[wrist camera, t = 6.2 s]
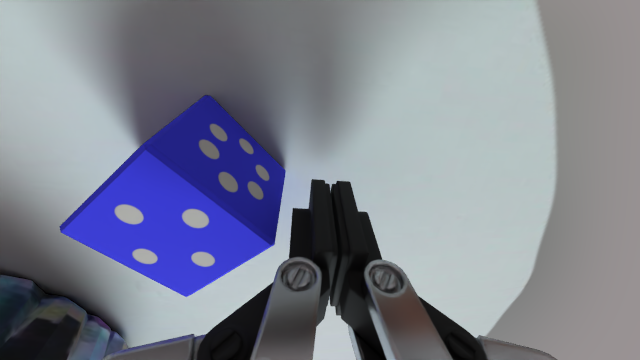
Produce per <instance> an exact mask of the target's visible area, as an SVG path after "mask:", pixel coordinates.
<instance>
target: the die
mask: <svg viewBox="0 0 640 360" xmlns="http://www.w3.org/2000/svg"><path fill="white" fill-rule="evenodd" d="M284 178H285V170H284V169H283V168H282V167H281V166H280V165H279V164H278V163H277V162H276V161H275V160H274V159H273V158H272V157H271V156H270V155H269V154H268V153H267V152H266V151H265V150H264V149H263V148H262V147H261V146H260V145H259V144H258V143H257V142H256V141H255V140H254V139H253V138H252V137H251V136H250V135H249V134H248V133H247V132H246V131H245V130H244V129H243V128H242V127H241V126H240V125H239V124H238V123H237V122H236V121H235V120H234V119H233V118H232V117H231V116H230V115H229V114H228V113H227V112H226V111H225V110H224V109H223V108H222V107H221V106H220V105H219V104H218V103H217V102H216V101H215V100H214V99H213V98H212V97H211V96H208V95H205V96H203V97H202V98H201V99H200V100H198V101H197V102H196V103H195V104H193V105H192V106H191V107H189V108H188V109H187V110H186V111H184V112H183V113H182V114H181V115H179V116H178V117H177V118H175V119H174V120H173V121H172V122H170V123H169V124H168V125H166V126H165V127H164V128H163V129H161V130H160V131H159V132H158V133H156V134H155V135H154V136H152V137H151V138H150V139H149V140H147V141H146V142H145V143H144V144H142V145H141V146H140V147H139V148H138V149H137V150H136V151H135V152H134V153H133V154H132V155H131V156H130V157H129V158H128V159H127V160H126V161H125V162H124V163H123V164H122V165H121V166H120V167H119V168H118V169H117V170H116V171H115V172H114V173H113V174H112V175H111V176H110V177H109V178H108V179H107V180H106V181H105V182H104V183H103V184H102V185H101V186H100V187H99V188H98V189H97V190H96V191H95V192H94V193H93V194H92V195H91V196H90V197H89V198H88V199H87V200H86V201H85V202H84V203H83V204H82V205H81V206H80V207H79V208H78V209H77V210H76V211H75V212H74V213H73V214H72V215H71V216H70V217H69V218H68V219H67V220H66V221H65V222H64V223H63V224H62V225H61V226H60V231H61V233H63V234H65V235H67V236H69V237H71V238H73V239H75V240H77V241H79V242H81V243H82V244H84V245H86V246H88V247H90V248H92V249H94V250H96V251H98V252H100V253H102V254H104V255H106V256H108V257H110V258H112V259H114V260H115V261H117V262H119V263H121V264H123V265H125V266H127V267H129V268H131V269H133V270H135V271H137V272H139V273H141V274H143V275H145V276H147V277H148V278H150V279H152V280H154V281H156V282H158V283H160V284H162V285H164V286H166V287H168V288H170V289H172V290H174V291H176V292H178V293H180V294H181V295H183V296H185V297H187V296H189V295H191V294H193V293H195V292H196V291H198V290H200V289H201V288H203V287H205V286H206V285H208V284H210V283H211V282H213V281H215V280H216V279H218V278H220V277H221V276H223V275H225V274H226V273H228V272H230V271H231V270H233V269H235V268H236V267H238V266H240V265H241V264H243V263H245V262H246V261H248V260H250V259H251V258H253V257H255V256H256V255H258V254H260V253H261V252H263V251H265V250H266V249H268V248H270V247H271V246H273V245H274V244H275V238H276V231H277V224H278V218H279V211H280V205H281V198H282V191H283V185H284Z"/></svg>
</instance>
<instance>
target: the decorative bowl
mask: <svg viewBox="0 0 640 360" xmlns="http://www.w3.org/2000/svg"><path fill="white" fill-rule="evenodd" d="M127 347H128V346H127V344H126V342H125V340H124V339H123V338H122V337H121V336H120V335H119V334H118V333H117V332H115V331H111V328H110V327H108V326H107V325H106V324H105V323H104V322H103V321H102V320H101V319H100V318H99V317H98V316H93V315H89V314H87V313H86V311H85V310H84V309H82V308H81V307H80V306H78V305H77V304H75V303H74V302H72V301H71V300H69V299H68V298H66V297H63V296H55V295H47V294H45V293H44V292H43V291H42V290H41V289H40V288H39V287H38V286H37V285H36V284H35V283H34V282H33V281H32V280H27V279H22V278H17V277H11V276H6V275H0V360H101V359H103V358H104V357H106V356H107V355H109V354H112V353H114V352H117V351H120V350H124V349H127Z"/></svg>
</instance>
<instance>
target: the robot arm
mask: <svg viewBox="0 0 640 360" xmlns="http://www.w3.org/2000/svg"><path fill="white" fill-rule="evenodd" d="M329 295H330V305H331V306H335V308H336V315H341V319H342V320H344V321H345V322H346V323H347V324H348V330H349V335H350V339H351V342H352V346H353V349H354V353H355V357H356V360H557V359H555V358H554V357H552V356H551V355H549V354H547V353H545V352H543V351H540V350H537V349H532V348H529V347H524V346H520V345H516V344H512V343H508V342H504V341H500V340H496V339H492V338H488V337H484V336H480V335H479V336H478V337H477V338H475V337H473V336H472V335H471V334H470V333H469V332H468V331H466V330H465V329H464V328H462V327H461V326H460V325H458V324H457V323H455V322H454V321H453V320H451V319H450V318H448V317H447V316H445V315H444V314H443V313H441V312H440V311H438V310H437V309H436V308H434V307H433V306H431V305H430V304H429V303H427V302H426V301H424V300H423V299H422V298H420V297H419V296H417V294H416V292H415V290H414V288H413V287H412V285H411V283H410V281H409V279H408V278H407V276H406V274H405V273H404V272H403V270H402V269H401V268H400V267H398V266H397V265H396V264H394V263H392V262H389V261H386V260H382V257H381V254H380V251H379V248H378V244H377V241H376V238H375V235H374V232H373V229H372V225H371V222H370V219H369V216H368V213H367V212H358V210H357V206H356V202H355V198H354V195H353V191H352V187H351V183H350V182H346V181H337V183H336V184H332V187H331V193H330V186H329V184H325V180H314V179H312V182H311V192H310V202H309V209H298V208H293V213H292V226H291V240H290V254H289V259H288V260H286V261H284V262H283V263H282V264H281V265H280V266H279V268H278V270H277V272H276V275H275V278H274V282H273V283H272V284H270V285H269V286H268V287H266V288H265V289H264V290H262V291H261V292H260V293H258V294H257V295H256V296H255V297H253V298H252V299H251V300H249V301H248V302H247V303H245V304H244V305H243V306H241V307H240V308H239V309H237V310H236V311H235V312H234V313H232V314H231V315H230V316H228V317H227V318H226V319H224V320H223V321H222V322H220V323H219V324H218V325H216V326H215V327H214V328H213V329H212V330H211V331H210V332H208V333H207V334H205V335H201V336H196V337H195V336H194V334H191V335H186V336H182V337H177V338H173V339H168V340H164V341H160V342H155V343H151V344H146V345H142V346H137V347H133V348H128V349H124V350H120V351H117V352H114V353H112V354H109V355H107V356H106V357H104V358H103V359H101V360H312V359H313V351H314V342H315V333H316V326H317V325H318V324H319V323H320V322H321V321H322V320H323V319H324V316H325V311H326V307H327V305H328V300H329Z"/></svg>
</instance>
